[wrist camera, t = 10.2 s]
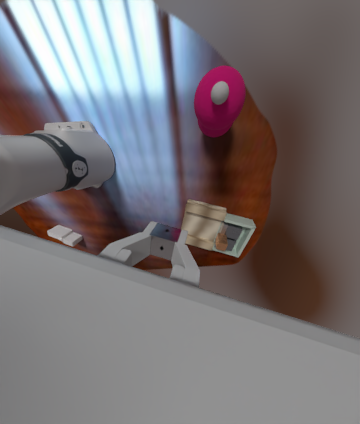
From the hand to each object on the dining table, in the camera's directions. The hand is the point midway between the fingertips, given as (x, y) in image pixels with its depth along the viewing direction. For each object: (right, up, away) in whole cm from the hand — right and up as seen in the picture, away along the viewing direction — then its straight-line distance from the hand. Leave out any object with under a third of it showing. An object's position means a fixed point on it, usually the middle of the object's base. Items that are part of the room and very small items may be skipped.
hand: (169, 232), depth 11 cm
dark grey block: (+17, -3, +30) cm, 35 cm away
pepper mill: (+9, +23, +20) cm, 31 cm away
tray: (+17, -5, +32) cm, 37 cm away
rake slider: (+14, -4, +31) cm, 34 cm away
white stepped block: (-48, -8, +50) cm, 70 cm away
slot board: (+8, -2, +33) cm, 34 cm away
